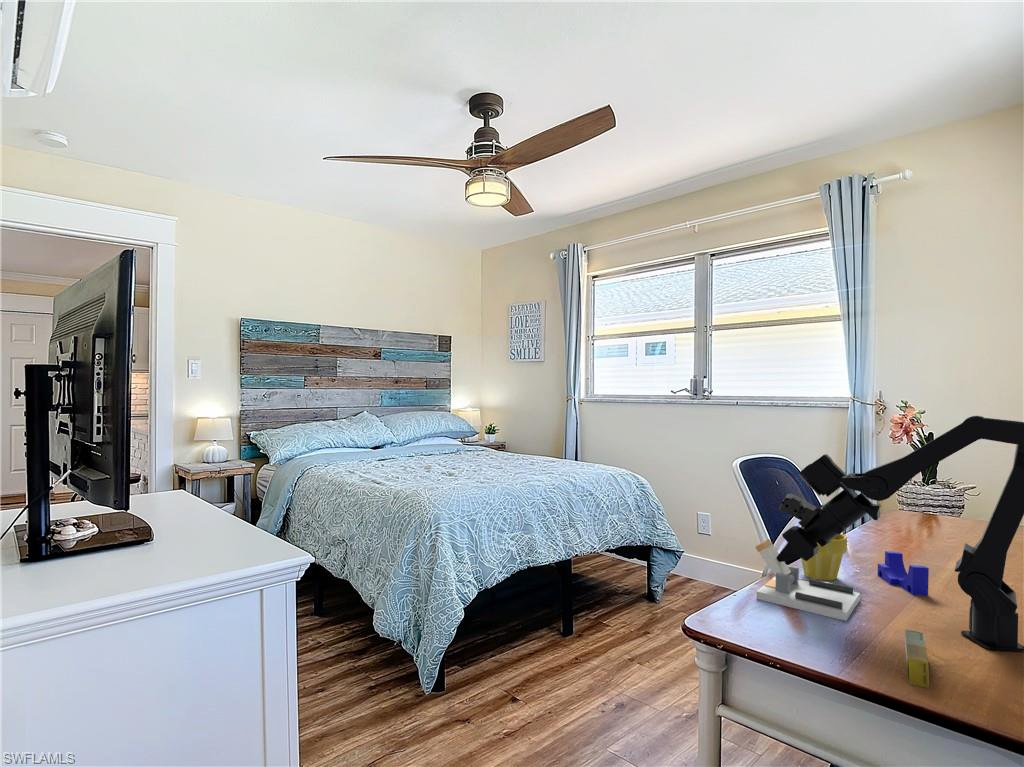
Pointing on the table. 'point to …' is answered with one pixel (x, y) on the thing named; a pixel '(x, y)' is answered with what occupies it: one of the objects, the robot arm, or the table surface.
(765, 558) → the lever
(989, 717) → the table surface
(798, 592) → the white base plate
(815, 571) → the plant pot
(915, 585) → the cable clip
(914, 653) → the medication box
